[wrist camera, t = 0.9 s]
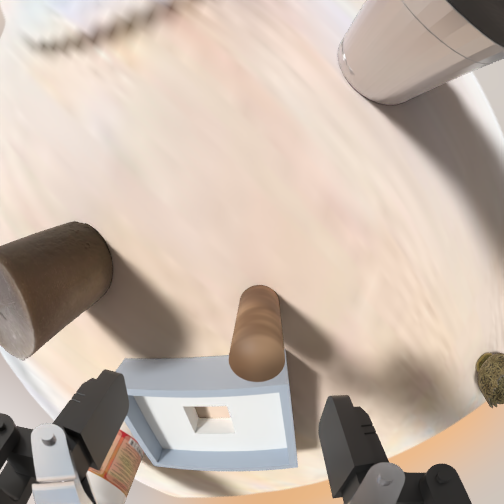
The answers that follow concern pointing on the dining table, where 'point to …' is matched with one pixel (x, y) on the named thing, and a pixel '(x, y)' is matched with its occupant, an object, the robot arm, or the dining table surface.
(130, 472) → the fruit juice
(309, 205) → the dining table surface
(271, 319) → the peg
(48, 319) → the pillar candle
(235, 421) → the box
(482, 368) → the mottled brown rounded lump
